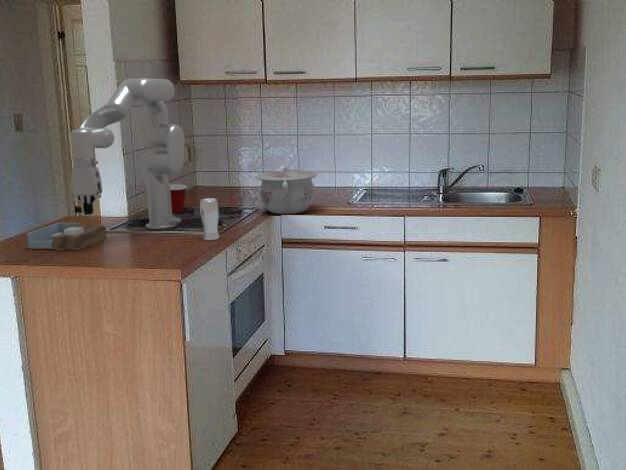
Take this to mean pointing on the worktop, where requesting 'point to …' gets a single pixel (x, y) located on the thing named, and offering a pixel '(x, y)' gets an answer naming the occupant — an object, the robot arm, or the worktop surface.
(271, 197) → the chamber pot
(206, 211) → the beer glass
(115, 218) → the worktop surface
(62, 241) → the tan slab
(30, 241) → the box
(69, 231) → the tile
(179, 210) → the plastic cup
